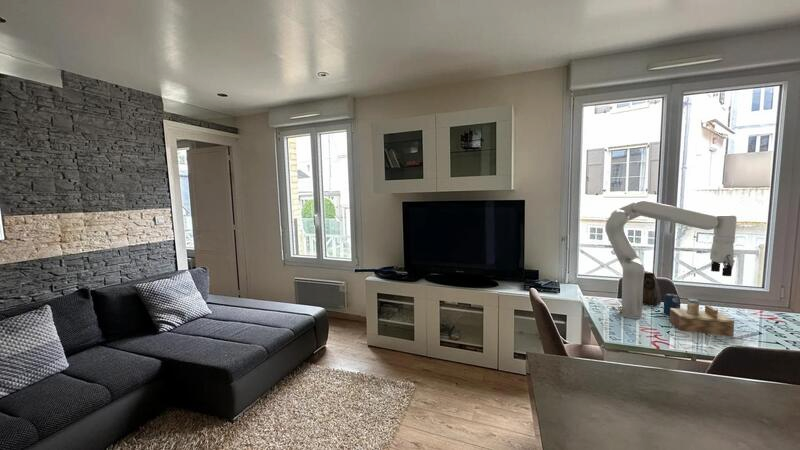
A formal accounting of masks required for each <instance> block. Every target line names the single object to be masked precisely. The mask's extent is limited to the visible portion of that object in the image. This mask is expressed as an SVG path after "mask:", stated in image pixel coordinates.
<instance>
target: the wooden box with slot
mask: <svg viewBox="0 0 800 450" xmlns="http://www.w3.org/2000/svg"><path fill="white" fill-rule="evenodd" d="M669 322H670V323H671V325H673V326H674V328H676V329H677V330H678V331H681V332H691V333H699V334H700V333H701V334H709V335H711V334H712V335H719V336H727V337H728V336H729V337H734V336H735V335H734V334H735V333H734V331H735V322H734V323H729V322H718V321H707V320H696V319H686V318H680V317H678V316H677V315H676V314H675V313H674V312H672V311H671V310H670V315H669Z"/></svg>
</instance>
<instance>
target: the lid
mask: <svg viewBox="0 0 800 450" xmlns="http://www.w3.org/2000/svg"><path fill="white" fill-rule="evenodd" d="M670 310H671V311H672V312H674V313H675V314H676V315H677V316H678V317H680V318H686V319H697V320H707V321H718V322H729V323H734V324H735V320H734V319H732V318H730V317H729V316H727V315H726V314H724V313H723V312H720V311H718V310H717V309H715V308H714V307H712V306H710V305H705V306H704V310H701V309H699V314H698V315H691V314H688V313H687V308H680V309H677V308H670Z"/></svg>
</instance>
